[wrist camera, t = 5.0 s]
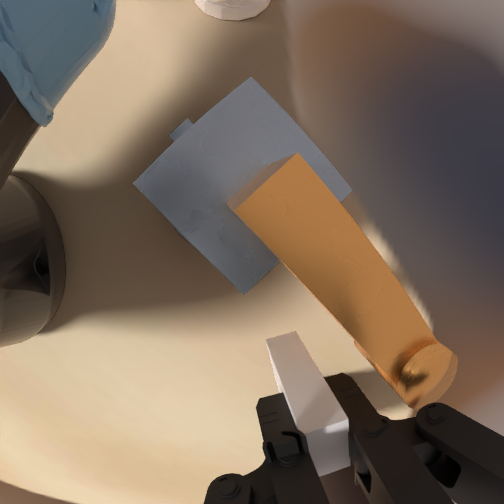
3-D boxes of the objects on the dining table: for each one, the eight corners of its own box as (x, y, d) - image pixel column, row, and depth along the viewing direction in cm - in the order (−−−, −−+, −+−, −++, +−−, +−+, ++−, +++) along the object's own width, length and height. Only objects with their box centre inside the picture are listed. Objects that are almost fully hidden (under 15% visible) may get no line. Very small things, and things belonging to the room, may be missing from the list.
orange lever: (305, 331, 23) (384, 447, 10) (142, 166, 19) (48, 137, 7) (369, 269, 22) (491, 337, 10) (218, 96, 19) (232, -18, 6)
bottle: (361, 393, 29) (463, 532, 9) (315, 433, 29) (384, 581, 10) (323, 364, 27) (435, 537, 8) (273, 410, 28) (334, 590, 8)
